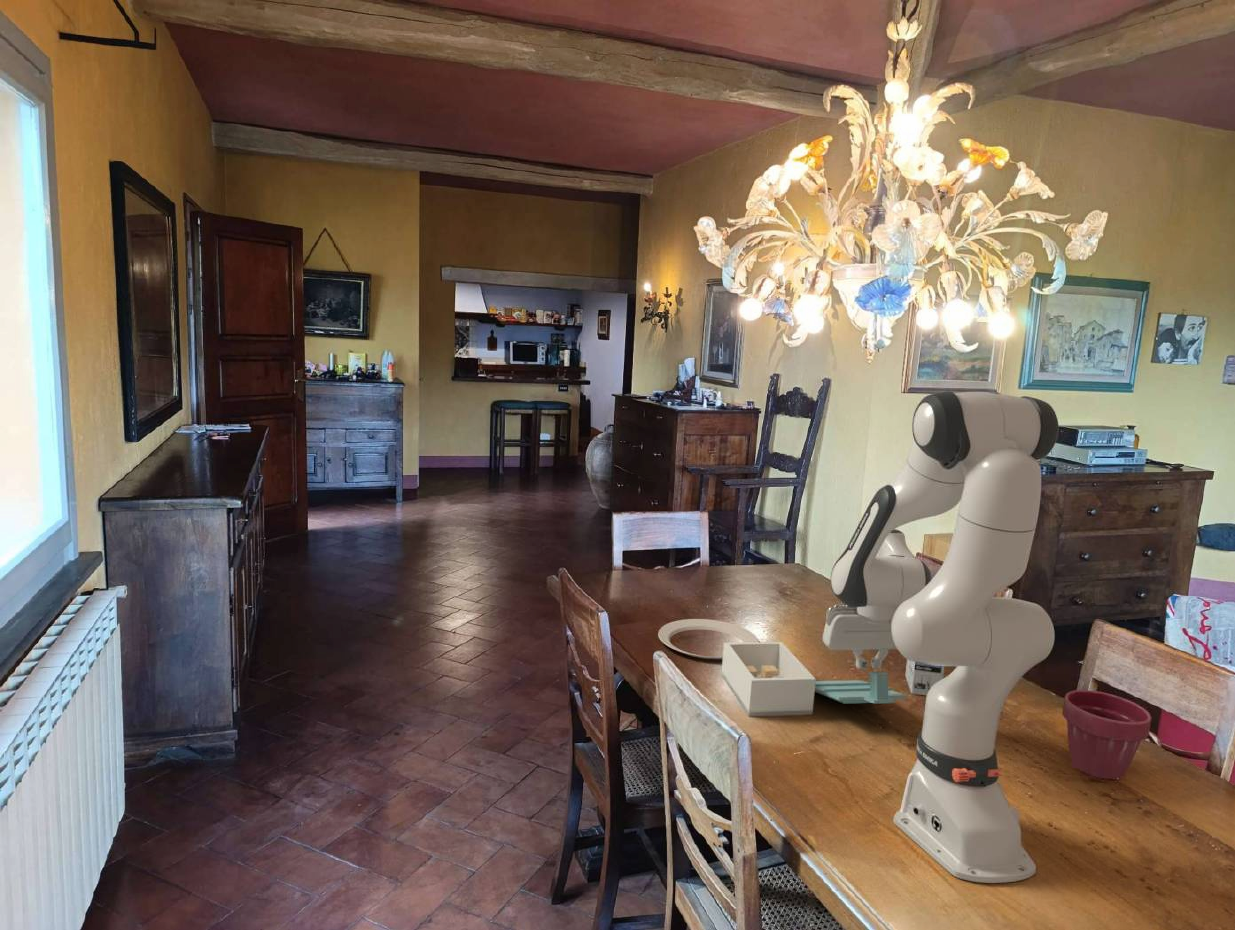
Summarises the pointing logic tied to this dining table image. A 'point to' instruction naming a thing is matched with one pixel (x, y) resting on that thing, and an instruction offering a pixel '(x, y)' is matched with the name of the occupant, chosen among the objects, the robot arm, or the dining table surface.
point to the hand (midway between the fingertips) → (868, 667)
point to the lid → (860, 690)
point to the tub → (768, 679)
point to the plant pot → (1103, 732)
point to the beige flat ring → (705, 624)
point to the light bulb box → (922, 676)
